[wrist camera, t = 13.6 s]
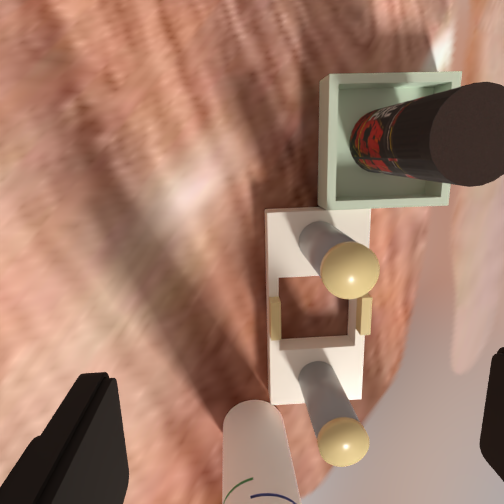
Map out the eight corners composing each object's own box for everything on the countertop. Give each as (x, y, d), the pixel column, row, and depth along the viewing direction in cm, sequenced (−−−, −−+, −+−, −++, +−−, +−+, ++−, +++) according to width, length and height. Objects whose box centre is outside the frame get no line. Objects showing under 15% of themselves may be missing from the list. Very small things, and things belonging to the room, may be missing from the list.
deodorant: (373, 96, 36) (472, 60, 22) (421, 131, 37) (546, 119, 23) (337, 151, 37) (409, 152, 23) (385, 184, 38) (482, 204, 24)
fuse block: (264, 208, 39) (282, 234, 27) (362, 205, 39) (421, 228, 27) (268, 391, 44) (284, 480, 32) (354, 385, 45) (400, 470, 33)
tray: (319, 81, 36) (329, 73, 32) (439, 78, 37) (462, 71, 33) (317, 204, 39) (326, 210, 35) (428, 200, 40) (448, 205, 36)
